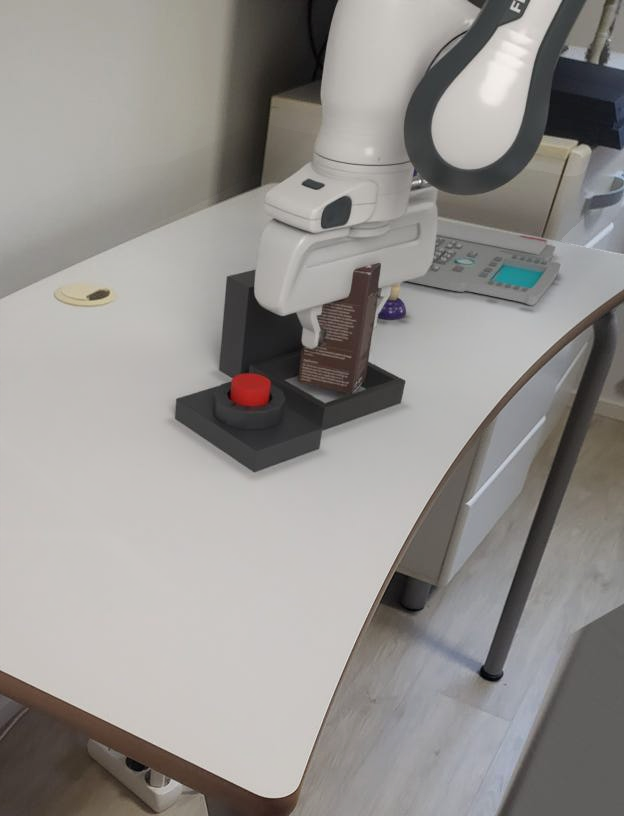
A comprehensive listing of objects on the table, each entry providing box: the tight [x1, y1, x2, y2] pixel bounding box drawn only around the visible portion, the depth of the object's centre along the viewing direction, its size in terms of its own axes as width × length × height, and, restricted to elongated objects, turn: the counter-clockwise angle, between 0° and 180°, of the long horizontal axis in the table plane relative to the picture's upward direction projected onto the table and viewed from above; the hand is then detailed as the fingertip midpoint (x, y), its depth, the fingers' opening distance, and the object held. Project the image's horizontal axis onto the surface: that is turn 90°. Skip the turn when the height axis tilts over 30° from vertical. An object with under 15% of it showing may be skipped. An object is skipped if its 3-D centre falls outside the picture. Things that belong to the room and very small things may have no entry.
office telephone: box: [406, 219, 561, 306], centre depth 129 cm, size 23×3×20 cm
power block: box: [174, 380, 323, 473], centre depth 91 cm, size 12×8×4 cm, turn 35°
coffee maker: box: [218, 269, 406, 432], centre depth 97 cm, size 16×11×10 cm
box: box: [297, 263, 381, 395], centre depth 94 cm, size 6×4×12 cm
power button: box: [230, 373, 271, 406], centre depth 90 cm, size 4×4×2 cm
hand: (338, 337), depth 95 cm, fingers closed on box, 5 cm apart
